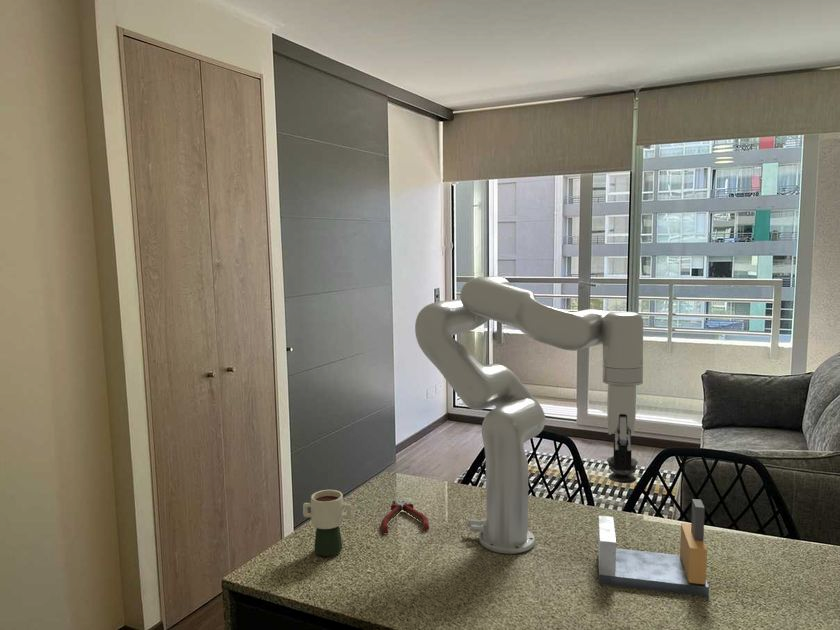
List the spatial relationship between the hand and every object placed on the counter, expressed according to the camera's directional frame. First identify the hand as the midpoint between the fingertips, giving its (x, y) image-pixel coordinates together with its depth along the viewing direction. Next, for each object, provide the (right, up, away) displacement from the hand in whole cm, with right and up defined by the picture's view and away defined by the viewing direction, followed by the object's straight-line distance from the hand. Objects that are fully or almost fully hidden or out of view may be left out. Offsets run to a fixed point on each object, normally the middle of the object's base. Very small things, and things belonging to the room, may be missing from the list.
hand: (622, 463), depth 122 cm
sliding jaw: (+14, -21, +1) cm, 26 cm away
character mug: (-61, -23, +15) cm, 67 cm away
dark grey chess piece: (0, -3, 0) cm, 3 cm away
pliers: (-43, -22, +32) cm, 58 cm away
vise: (+7, -23, +3) cm, 25 cm away
